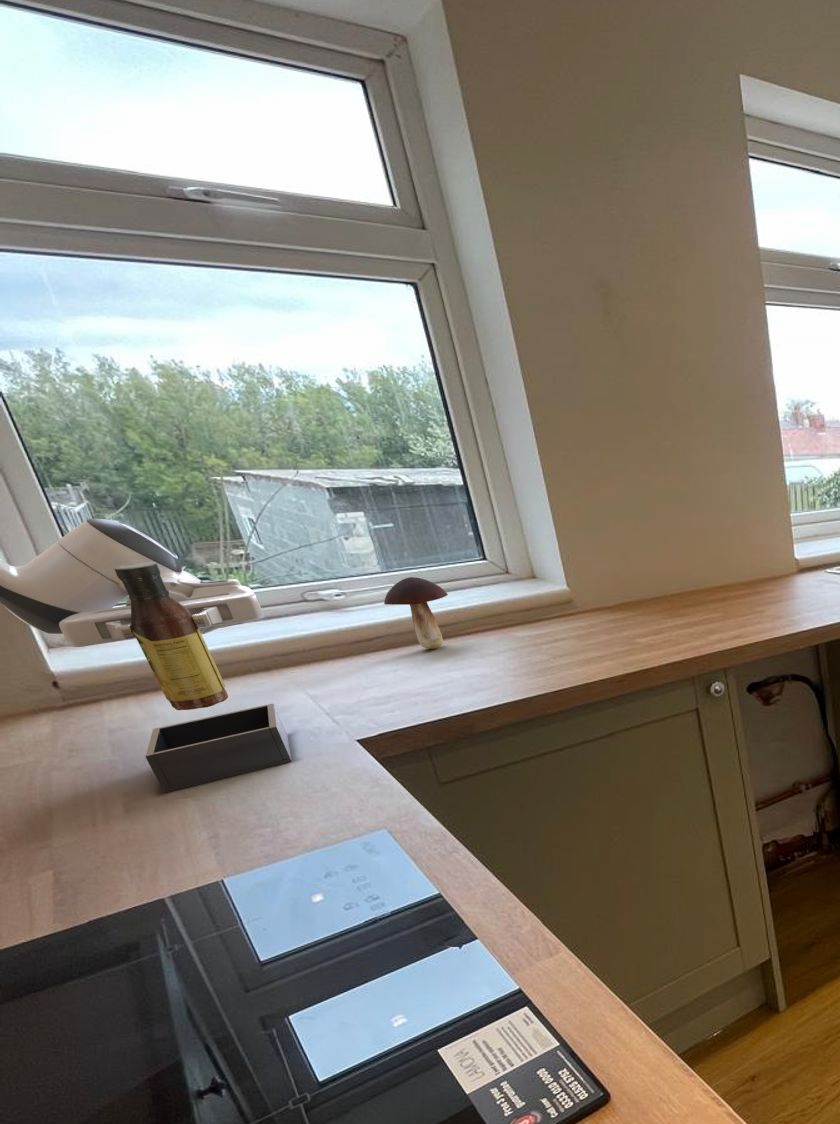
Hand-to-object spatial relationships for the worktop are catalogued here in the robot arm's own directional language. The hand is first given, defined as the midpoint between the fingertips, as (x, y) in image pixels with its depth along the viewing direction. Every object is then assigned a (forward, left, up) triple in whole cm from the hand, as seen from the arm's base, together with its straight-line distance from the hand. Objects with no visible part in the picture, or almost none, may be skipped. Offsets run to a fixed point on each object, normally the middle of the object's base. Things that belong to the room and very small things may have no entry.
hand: (164, 627), depth 109 cm
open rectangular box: (0, +1, -21) cm, 21 cm away
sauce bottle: (0, +1, -12) cm, 12 cm away
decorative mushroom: (+32, +47, -21) cm, 61 cm away
